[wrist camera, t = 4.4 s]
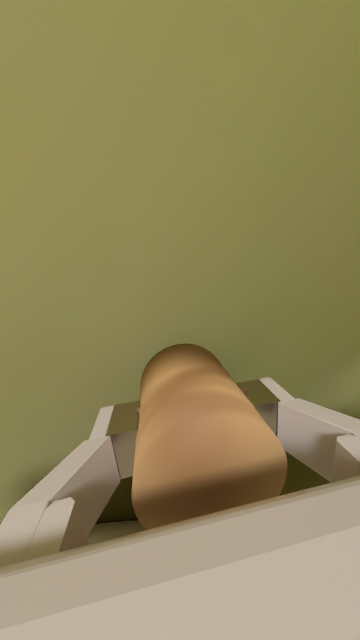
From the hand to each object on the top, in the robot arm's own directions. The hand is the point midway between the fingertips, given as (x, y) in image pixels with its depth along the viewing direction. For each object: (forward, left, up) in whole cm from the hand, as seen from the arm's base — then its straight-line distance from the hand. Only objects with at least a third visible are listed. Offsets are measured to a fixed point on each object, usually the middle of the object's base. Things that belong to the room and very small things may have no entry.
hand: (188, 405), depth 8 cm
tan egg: (0, 0, -2) cm, 2 cm away
